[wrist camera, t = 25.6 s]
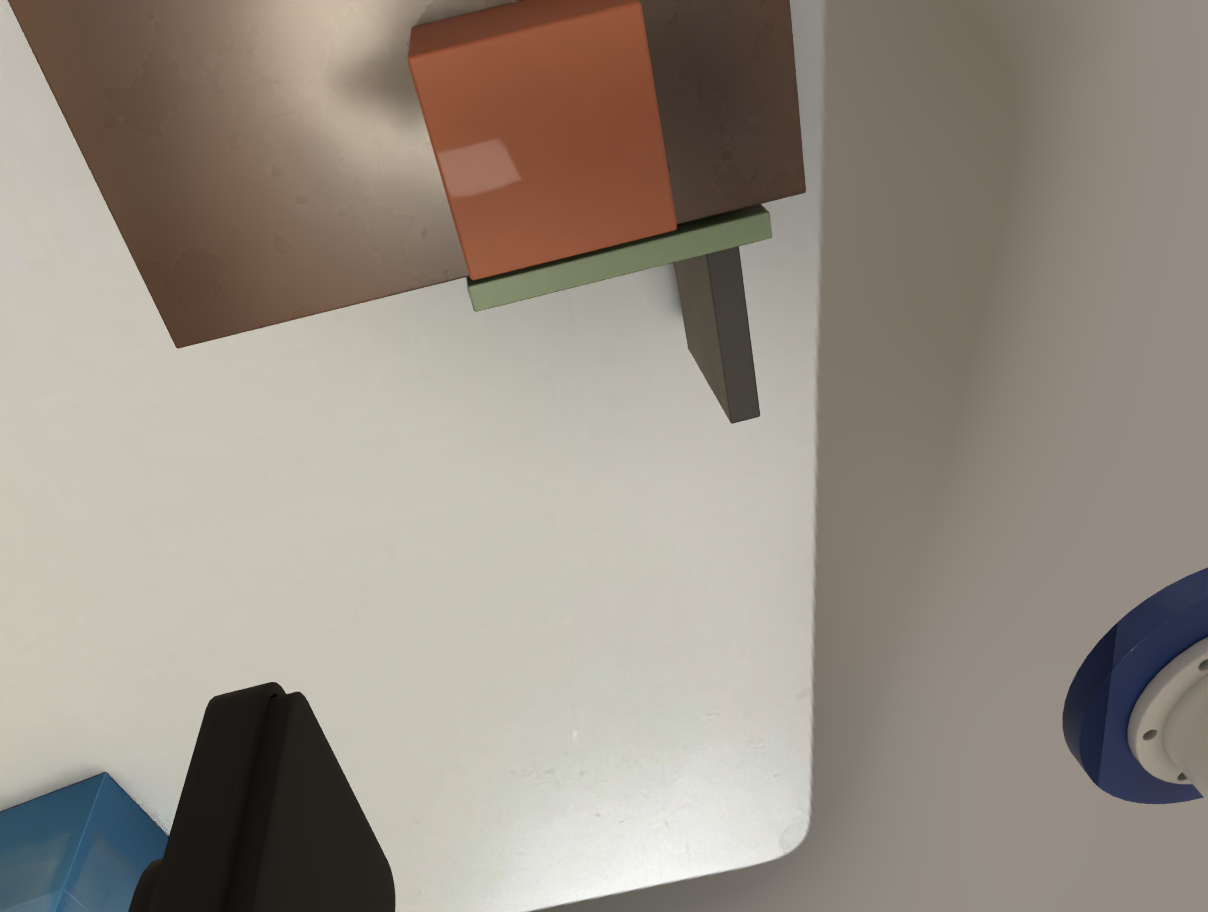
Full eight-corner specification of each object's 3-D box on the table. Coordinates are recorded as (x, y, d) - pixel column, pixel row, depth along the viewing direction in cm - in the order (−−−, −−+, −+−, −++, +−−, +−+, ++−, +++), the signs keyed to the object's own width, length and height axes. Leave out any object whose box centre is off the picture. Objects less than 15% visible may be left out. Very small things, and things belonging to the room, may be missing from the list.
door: (697, 143, 34) (769, 211, 27) (721, 314, 38) (791, 416, 30) (458, 202, 34) (467, 286, 27) (506, 368, 38) (524, 484, 30)
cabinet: (680, -205, 29) (770, -240, 21) (722, 126, 34) (806, 192, 27) (100, -69, 29) (-20, -55, 21) (233, 246, 34) (176, 349, 26)
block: (602, -19, 23) (641, 0, 19) (637, 174, 26) (678, 231, 21) (410, 26, 23) (406, 57, 19) (464, 217, 26) (471, 282, 21)
